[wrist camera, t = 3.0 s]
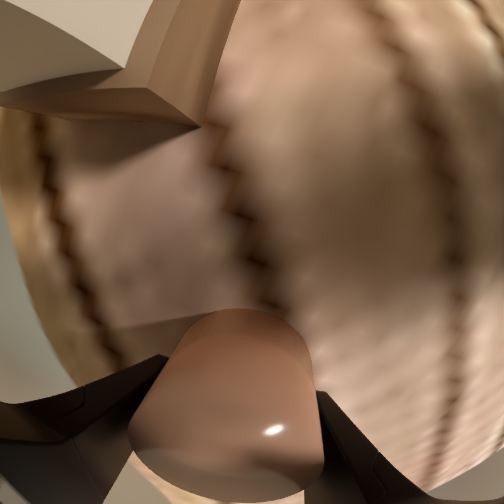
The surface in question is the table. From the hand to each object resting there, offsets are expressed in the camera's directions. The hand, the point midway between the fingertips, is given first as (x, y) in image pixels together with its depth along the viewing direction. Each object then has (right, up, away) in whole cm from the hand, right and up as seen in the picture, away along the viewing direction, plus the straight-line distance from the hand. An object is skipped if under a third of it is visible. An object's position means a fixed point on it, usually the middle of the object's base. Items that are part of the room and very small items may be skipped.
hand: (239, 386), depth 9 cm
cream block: (-4, +11, -5) cm, 13 cm away
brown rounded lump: (0, 0, +1) cm, 1 cm away
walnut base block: (-3, +12, -1) cm, 12 cm away
